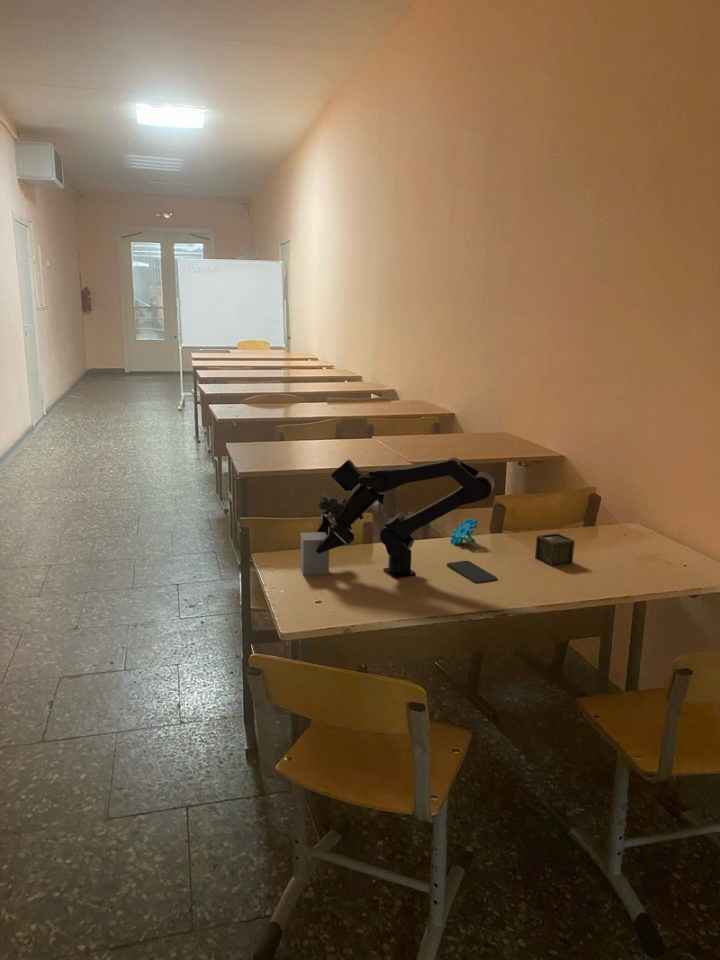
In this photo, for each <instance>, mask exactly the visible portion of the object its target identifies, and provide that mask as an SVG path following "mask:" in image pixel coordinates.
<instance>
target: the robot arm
mask: <svg viewBox="0 0 720 960" xmlns="http://www.w3.org/2000/svg"><path fill="white" fill-rule="evenodd" d="M447 476H450V477H451V478H452V479H454V480H455V481H456V482H457V483H458V484H459V485H460V486H459V488H457V489H456V490H454V491H453V492H450V493H449V494H447V495H446V496H444V497H441V498H440V499H438V500H436V501H434V502H433V503H431V504H429V505H427V506H426V507H423V508H421V509H419V510H418V511H416V512H415V513H414V512H413V514H410V515H405V514H404V512H403V511H401V512H400V513H399V514H398V515H397V516H394V517H390V518H389V519H388V520H387V521H386V522H385V523H384V527H382V529H381V531H380V533H379V539H380V542H381V543H382V544H383V545H384V546H385V550H386V552H387V555H388V567H384V568H383V570H382V571H384V572H385V573H387V574H389V575H390V576H391V577H392V578H395V579H397V578H402V577H408V576H415V575H416V574H417V573H416V572H415V571H414V570H412V569H411V568H412V550H411V548H412V547H413V545H414V544H415V538H413V536H412V534H413V533H414V532H415V531H417V530H419V529H420V528H422V527H424V526H426V525H428V524H430V523H432V522H434V521H436V520H438V519H439V518H441V517H443V516H445V515H446V514H449V513H450V512H452V511H454V510H456V509H458V508H461V506H464V505H469V504H473V503H477V502H480V501H482V500H486V499H487V498H488V497H489V496H490V495H491V494H492V491H493V489H494V487H495V479H494V478H493V476H492V475H491V474H490V473H488V472H485V471H479V470H478V469H477V468H475V467H473V466H471V465H470V464H467V463H465V462H464V461H461V460H460V459H459V458H458V457H449V458H448V459H444V460H443V459H442V460H438V461H433V462H427V463H421V464H417V465H411V466H395V465H394V466H392V465H391V466H385V465H384V466H381V467H379V468H377V469H375V470H373V471H366V472H364V473H362V471H360V470H359V468H357V466H356V465H355V464H354V462H353V461H352V460H351V459H347V460H346V461H345V462H344V463H343V464H341V466H340V467H338V468H337V469H335V470H334V471H333V473H331V475H330V476H329V477H330V478H331V479H332V481H334V482H335V483H336V485H338V487H339V488H340V489H341V490H342V491H343V492H345V493H348V492H350V493H352V492H353V491H354V490H355V489H356V488H357V487H358V486H359V487H358V488H357V489H356V490H355V491H354V492H353V493H352V494H351V495H350V496H349V497H348V498H346V497H345V498H342V499H341V500H339V499H337V498H336V497H333V496H330V495H327V494H326V493H323V492H321V494H320V496H319V498H318V500H317V502H316V505H317V507H318V508H319V509H320V510H321V511H322V512H321V513H320V516H321V523H320V524H319V526H318V527H317V529H316V531H315V532H326V534H327V536H326V538H325V539H324V540H323V542H322V543H321V544H320V545H319V547H318V548H317V550H316V552H317V553H318V554H320V553H322V552H325V551H328V550H329V551H330V550H333V549H336V548H338V547H342V546H347V545H348V546H349V545H351V544H352V542H354V540H355V534H354V533H353V531H352V529H353V527H352V526H353V525H354V524H355V523H356V522H357V521H358V520H359V519H360V520H363V519H364V514H365V513H366V512H367V511H368V510H369V509H370V508H371V507H372V506H374V504H375V503H376V502H377V501H378V502H379V504H380V505H384V504H385V496H386V494H384V493H385V492H388V491H390V490H394V489H396V488H398V487H401V486H402V485H405V484H408V483H415V482H420V481H426V480H430V479H437V478H443V477H447Z"/></svg>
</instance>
